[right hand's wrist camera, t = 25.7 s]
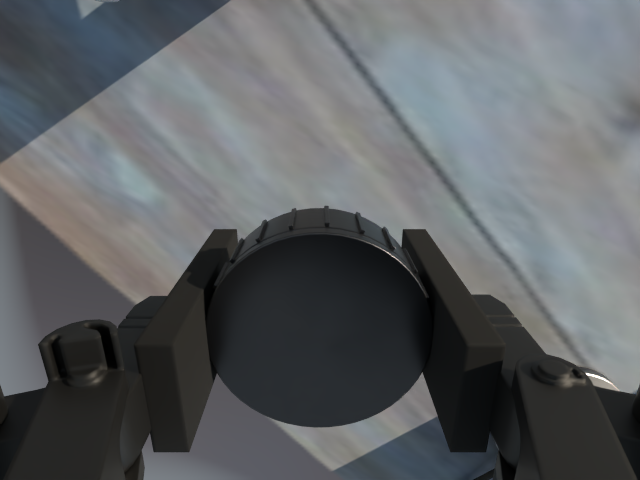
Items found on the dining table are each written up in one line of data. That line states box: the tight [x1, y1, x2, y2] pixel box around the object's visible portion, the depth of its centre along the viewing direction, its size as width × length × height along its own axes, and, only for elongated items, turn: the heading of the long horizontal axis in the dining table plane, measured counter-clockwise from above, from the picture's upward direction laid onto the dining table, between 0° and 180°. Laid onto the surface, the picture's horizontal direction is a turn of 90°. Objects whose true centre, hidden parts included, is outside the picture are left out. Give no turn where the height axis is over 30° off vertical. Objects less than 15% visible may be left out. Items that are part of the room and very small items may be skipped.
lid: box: [206, 206, 433, 427], centre depth 11 cm, size 6×6×2 cm
